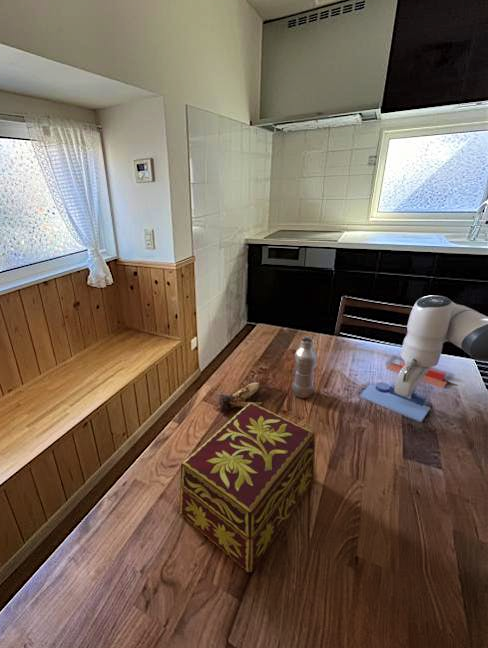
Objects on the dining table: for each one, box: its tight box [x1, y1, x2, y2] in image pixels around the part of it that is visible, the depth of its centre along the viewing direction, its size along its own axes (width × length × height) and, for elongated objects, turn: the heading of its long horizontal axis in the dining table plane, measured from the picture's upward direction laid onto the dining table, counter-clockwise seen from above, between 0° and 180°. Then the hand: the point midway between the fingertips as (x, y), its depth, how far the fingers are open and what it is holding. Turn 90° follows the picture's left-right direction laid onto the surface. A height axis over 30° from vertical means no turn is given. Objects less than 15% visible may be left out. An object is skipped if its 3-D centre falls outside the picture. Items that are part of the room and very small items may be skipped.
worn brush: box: [217, 381, 263, 413], centre depth 106 cm, size 9×5×18 cm
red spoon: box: [399, 361, 447, 381], centre depth 114 cm, size 13×4×2 cm, turn 42°
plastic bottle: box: [291, 336, 318, 399], centre depth 105 cm, size 6×7×20 cm
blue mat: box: [359, 384, 431, 423], centre depth 102 cm, size 17×8×1 cm, turn 42°
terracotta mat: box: [386, 362, 449, 389], centre depth 115 cm, size 17×8×1 cm, turn 42°
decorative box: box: [179, 401, 316, 574], centre depth 74 cm, size 28×19×15 cm
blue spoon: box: [374, 381, 427, 406], centre depth 100 cm, size 13×4×2 cm, turn 42°
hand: (409, 394), depth 98 cm, fingers closed on blue spoon, 1 cm apart
